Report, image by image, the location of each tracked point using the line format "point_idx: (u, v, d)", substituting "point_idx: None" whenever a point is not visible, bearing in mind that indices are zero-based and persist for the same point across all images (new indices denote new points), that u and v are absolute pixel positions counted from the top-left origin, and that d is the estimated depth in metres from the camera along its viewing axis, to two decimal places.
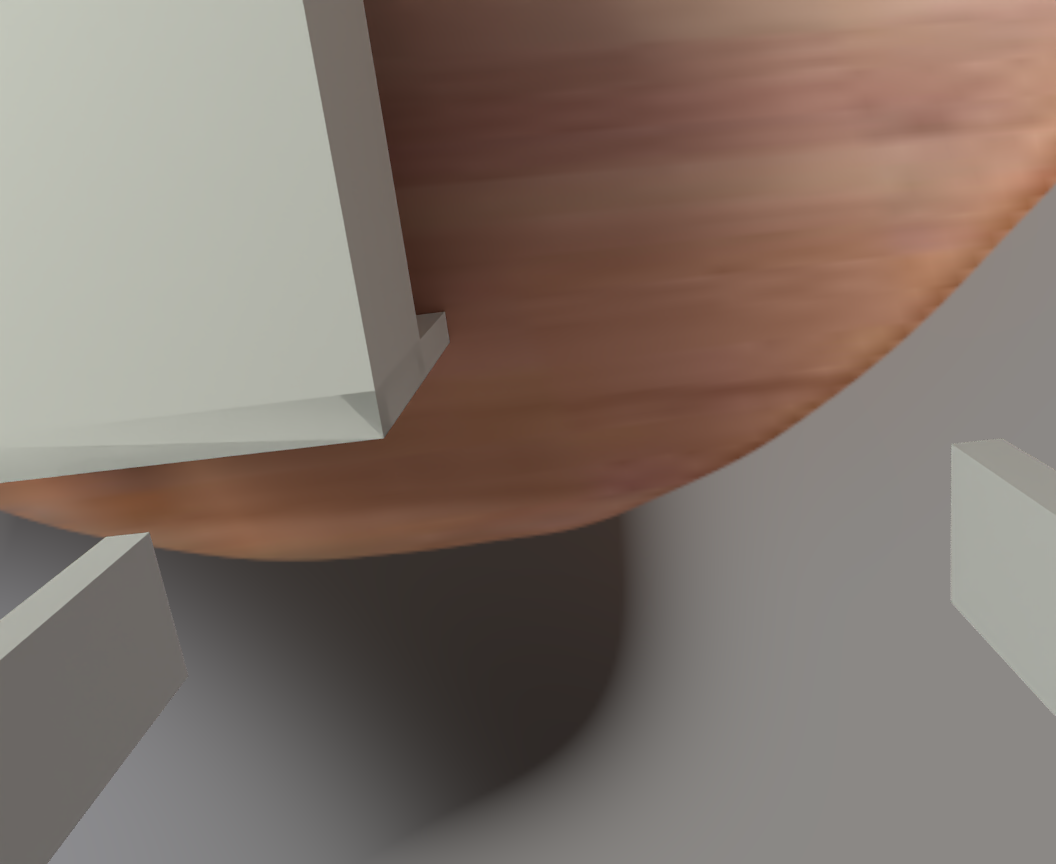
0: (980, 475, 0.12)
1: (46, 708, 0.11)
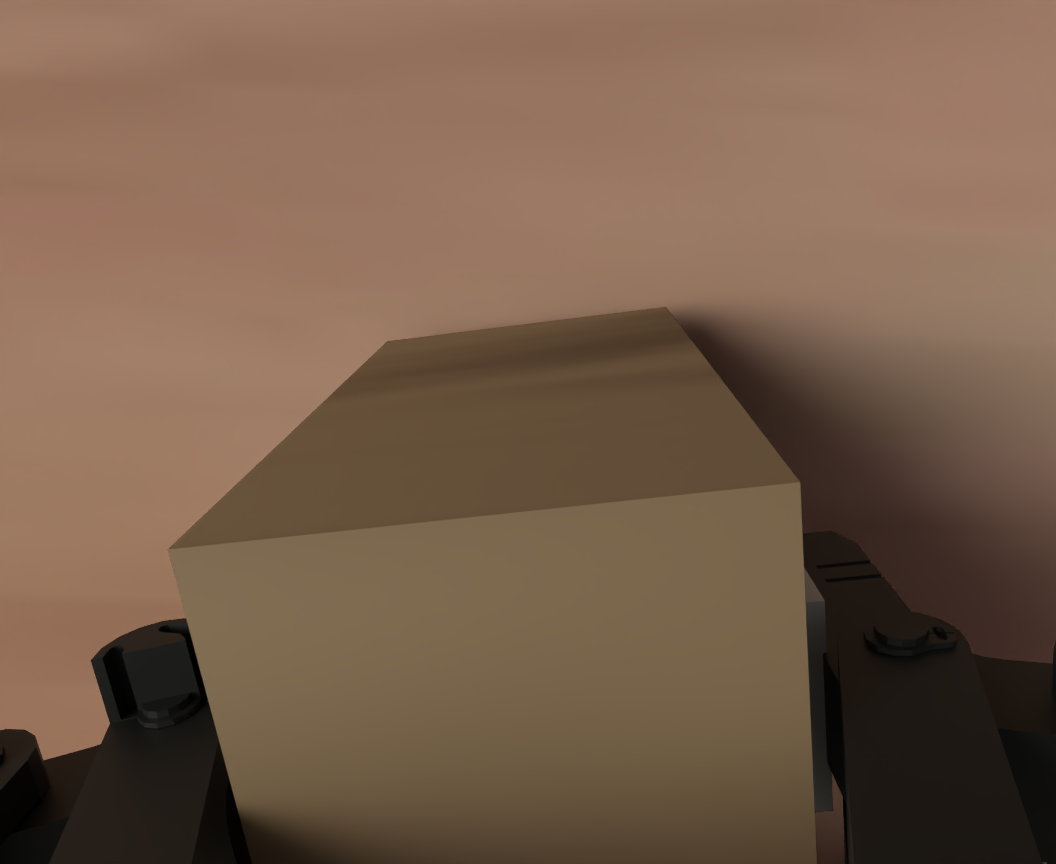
0: None
1: None
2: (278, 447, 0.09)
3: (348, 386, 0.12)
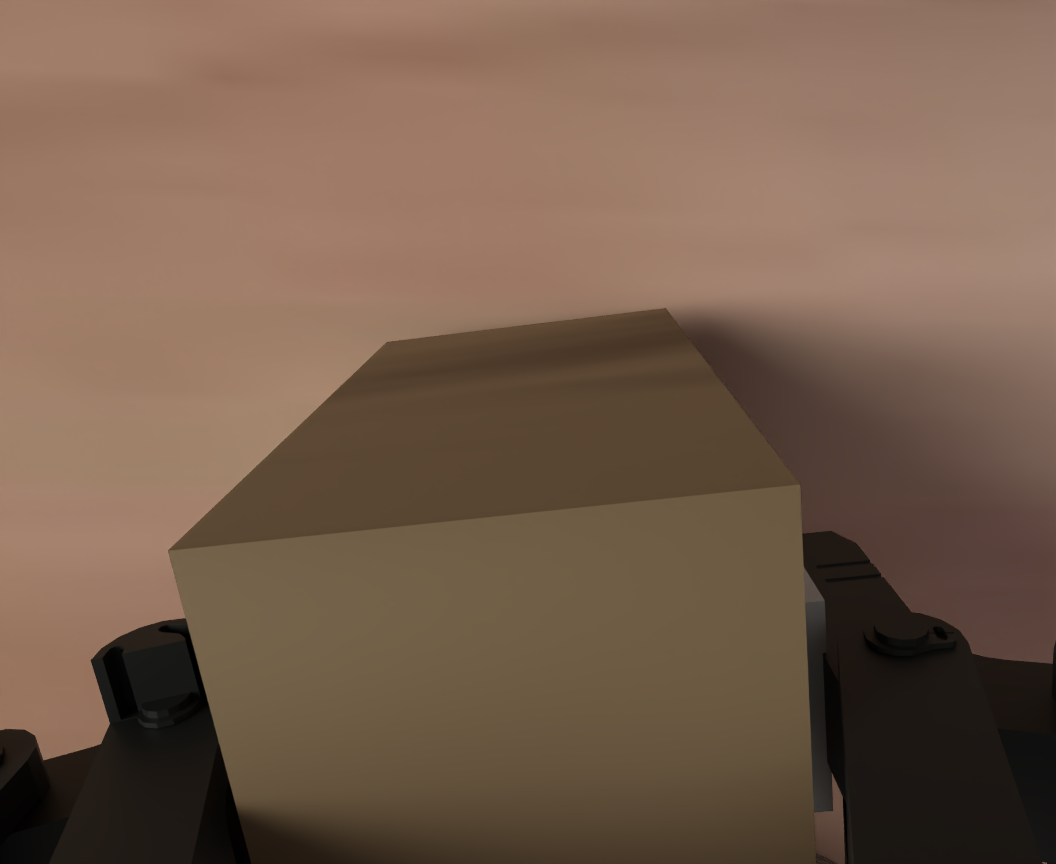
0: None
1: None
2: (278, 448, 0.09)
3: (348, 387, 0.12)
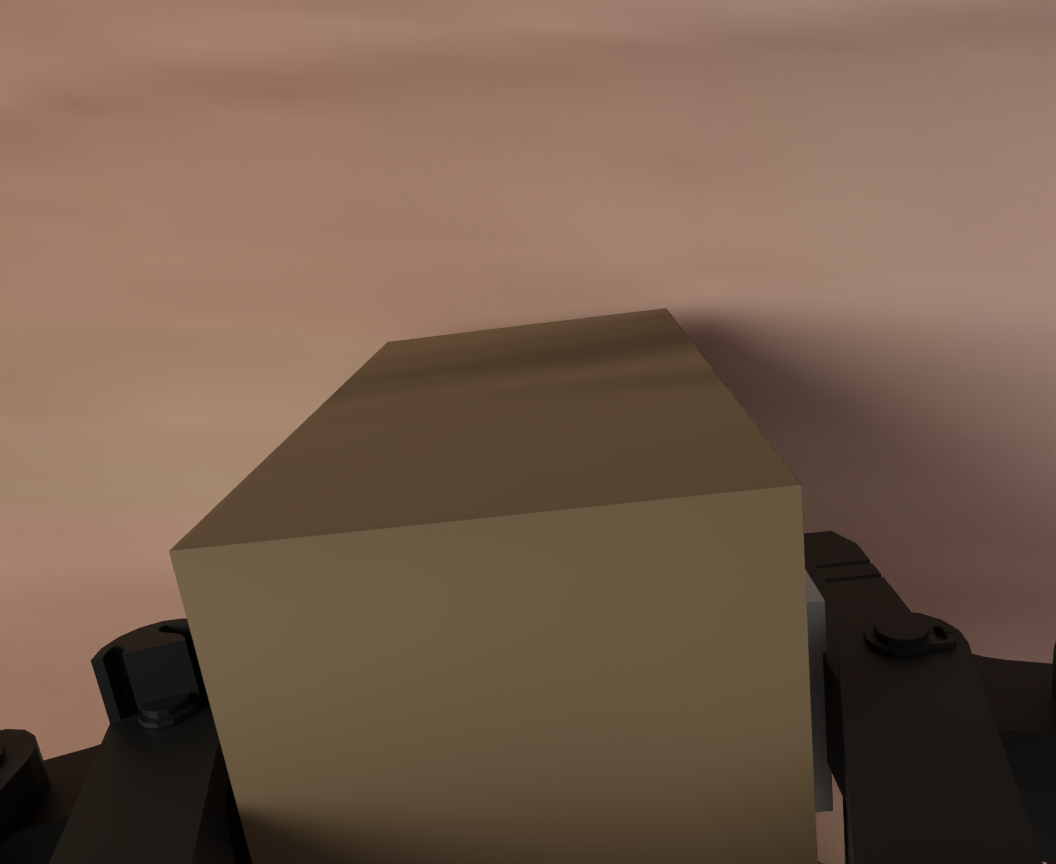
0: None
1: None
2: (279, 448, 0.09)
3: (348, 387, 0.12)
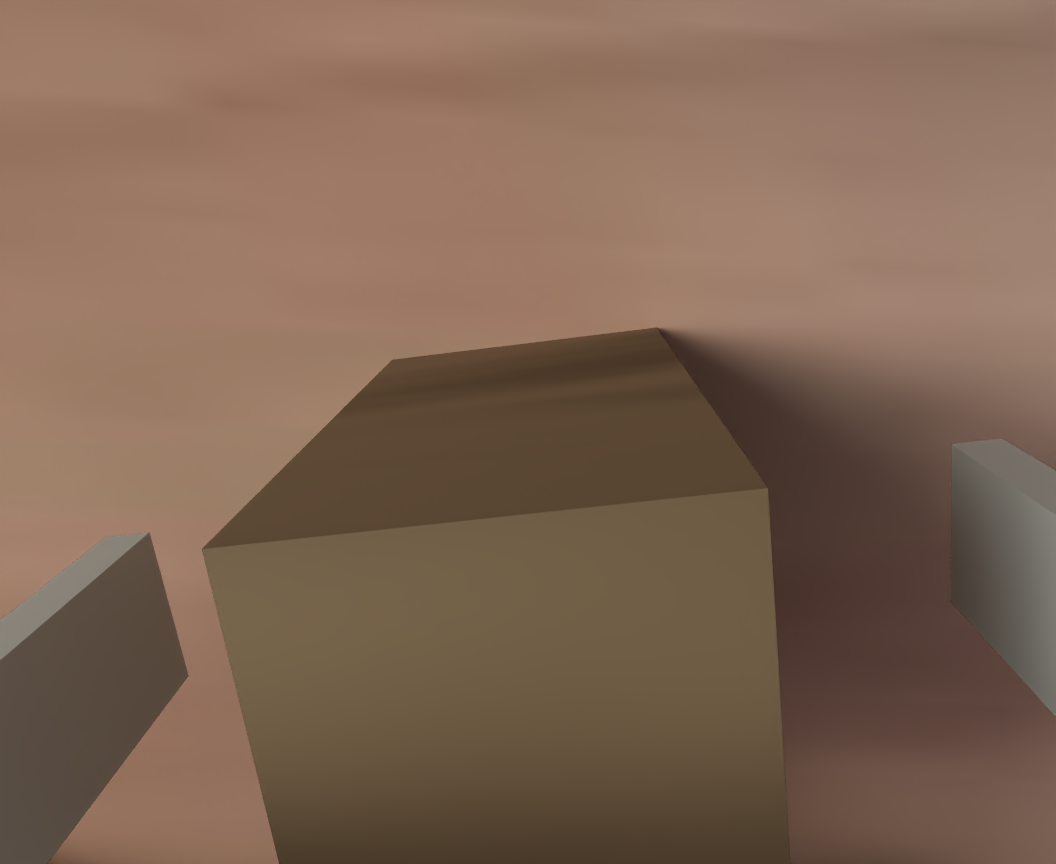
0: (980, 475, 0.12)
1: (46, 708, 0.11)
2: (295, 458, 0.10)
3: (357, 402, 0.13)
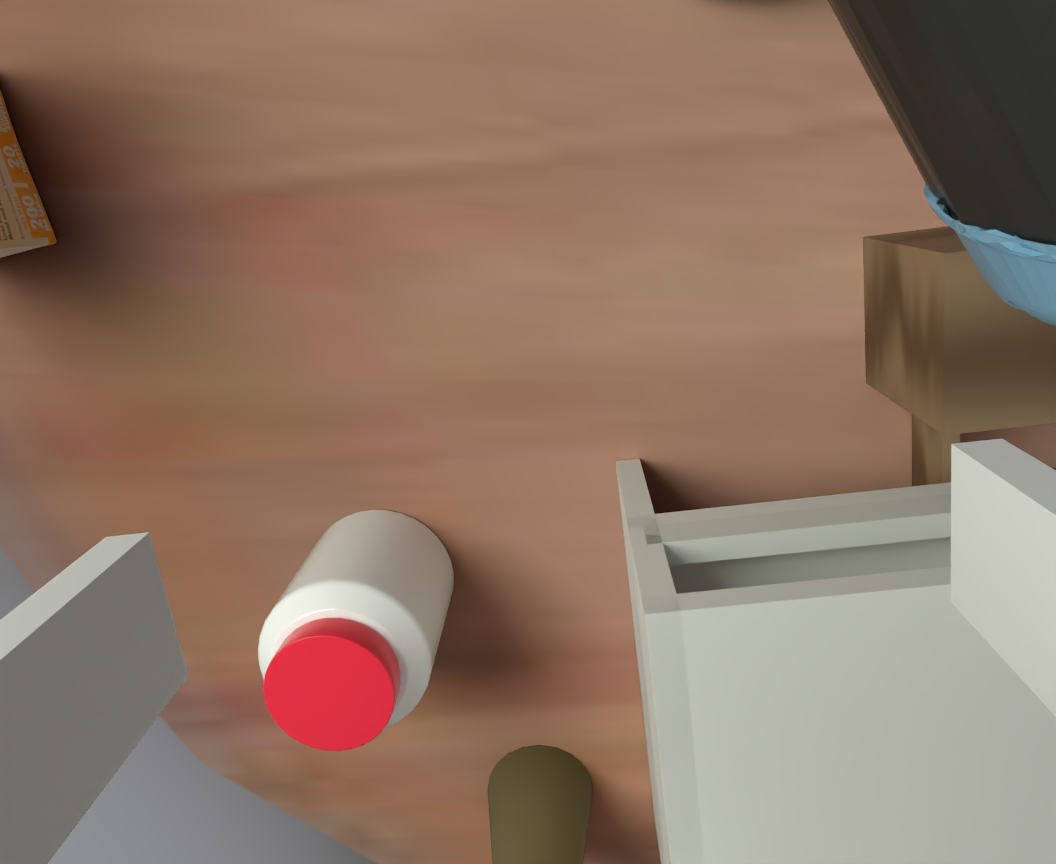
0: (980, 475, 0.12)
1: (46, 708, 0.11)
2: (917, 247, 0.34)
3: (893, 242, 0.37)
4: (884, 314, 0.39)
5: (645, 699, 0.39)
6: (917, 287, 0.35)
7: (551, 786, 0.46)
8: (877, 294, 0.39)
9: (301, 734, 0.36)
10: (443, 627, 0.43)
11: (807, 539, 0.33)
